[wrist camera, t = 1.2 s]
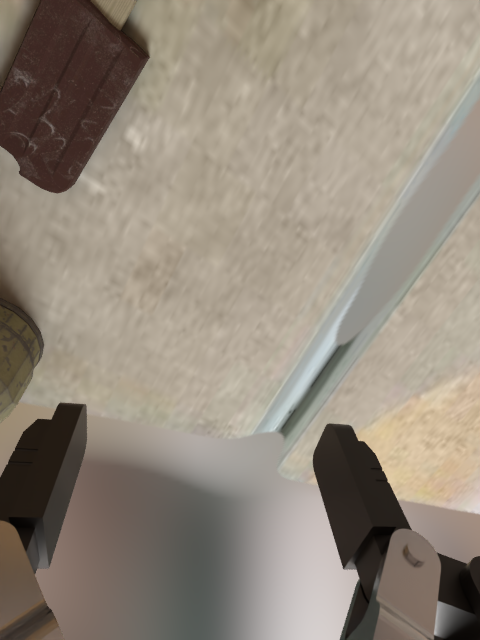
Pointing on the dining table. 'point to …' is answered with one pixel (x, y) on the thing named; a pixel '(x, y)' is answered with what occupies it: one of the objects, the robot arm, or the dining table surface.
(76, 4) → the ice cream bar
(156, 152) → the dining table surface
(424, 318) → the dining table surface
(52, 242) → the dining table surface
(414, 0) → the dining table surface
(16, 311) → the thermos
